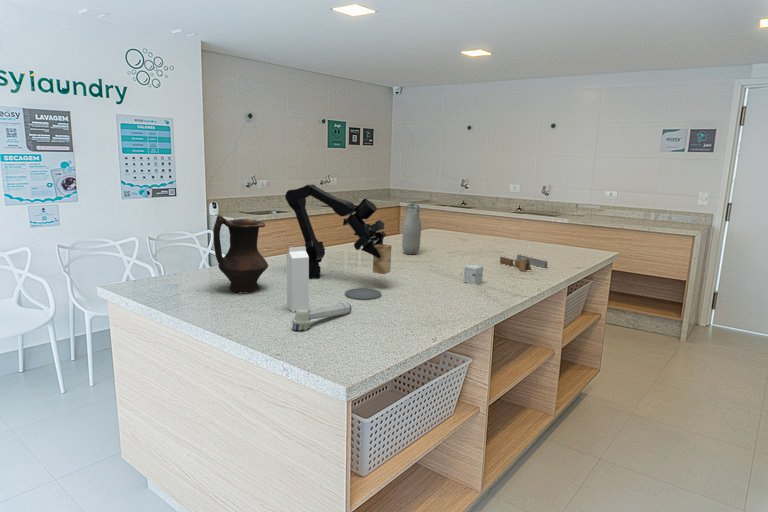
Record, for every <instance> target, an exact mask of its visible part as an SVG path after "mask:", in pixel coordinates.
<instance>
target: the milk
mask: <svg viewBox="0 0 768 512" xmlns="http://www.w3.org/2000/svg"><path fill="white" fill-rule="evenodd" d="M285 263H286V265H285V266H286V308H287V310H289V309H290V310H291V311H290V310H289V311H290V312H291V313H296V312H295V311H297V310H310V309H309V308H310V304H309V303H310V295H309V293H310V291H309V290H310V279H309V256H308V254H307V252H306V247H305V245H303V246H292V247H291V246H290V247H289V249H288V252H287V254H286V259H285Z"/></svg>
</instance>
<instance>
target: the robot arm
mask: <svg viewBox="0 0 768 512" xmlns="http://www.w3.org/2000/svg"><path fill="white" fill-rule="evenodd" d="M284 196H285V200H286V202H287V204H288V206H289V208H291V209H292V210H293V212H294V214H295V217H296V220H297V223H298V226H299V228H300V229H299V230H300V231H301V234H302V237H303V239H304V246H305V247H306V252H307V254H308V256H309V280H310V279H321V266H320V263H322V261H323V258H324V257H325V254H326V252H325V251H326V248H325V247H324V243H323V241H322V240H320V241H319V240H318V239H317V238H316V235H315V232H314V229H313V227H312V224H311V220H310V218H309V215H308V212H307V208H306V206H307V205H306V204H307V198H309V197H310V196H311V197H312V198H315V199H316V200H318V201H320V202H321V203H323V204H325V205H327V206H329V207H330V208H331V209H332V211H334V212H335V214H337V215H338V216H340V217H347V216H348V217H347V218H343V223H342V226H348V225H349V227H350V228H351V229H352V230H353V232H354V233H353V235H354V236H355V237H356V236H357V237H358V239H357V240H356V241H355V242H354V243H353V247H354V248H355V250H356V251H359V250H361V251H363V252H365V253H367V254H369V255H372V257H373V256H375V257H377V258H380V257H381V256H380V254H379V252H378V251H377V249H376V248H375V245H378V244H384V239H385V237H386V236H387V234H386V232H384V231H382V230H384V229H385V223H384V222H383V221H382V220H381V219H378V220H376V221H375V223H373V224H370V223H367V222H365V220H368V219H369V218H371V216H372V215H373V214H374V213H376V212H377V210H378V208H377V205H376V204H375V203H373V202H372V201H370V200H369V199H368V198H363V199H362V200H361V201H360V203H359V204H358V205H356V204H354V203H353V202H352V201H349V200H346V199H343V198H338V197H336V196H334V195H333V194H330V193H329V192H327V191H325V190H324V189H322V188H320V187H318V186H316V185H315V184H306V185H304V186H301V187H299V188H294V189H288V190H287V191H286V192H285V195H284Z"/></svg>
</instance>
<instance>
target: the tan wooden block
mask: <svg viewBox="0 0 768 512" xmlns="http://www.w3.org/2000/svg"><path fill="white" fill-rule="evenodd" d="M375 248H376V249H377V251H378V252H379V254H380V256H381V257H380V258H377V257H375V256H373V255H372V274H380V275H387V274H389V273H390V272H391V271H392V270H391V265H392V264H391V263H392V245H391V244H384V243H383V244H378V245H375Z"/></svg>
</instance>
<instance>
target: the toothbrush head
mask: <svg viewBox="0 0 768 512" xmlns="http://www.w3.org/2000/svg"><path fill="white" fill-rule="evenodd" d="M352 308H353V307H352V305H351V304H350V303H349V302H341V301H340V302H338V303H334V304H329V305H326V306H320V307H315V308H311V309H309V310H297V311H296V312H295V314H294V318H292V319H291V323H292V330H294V331H301V330H303V331H308V330H309V329H310V326H311V325H310V324H312V320H315V319H322V318H329V317H330V318H331V317H337V316H341V315H343V316H344V315H347V313H348V314H350V313H351V312H352ZM308 328H309V329H308ZM307 329H308V330H307Z"/></svg>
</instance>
